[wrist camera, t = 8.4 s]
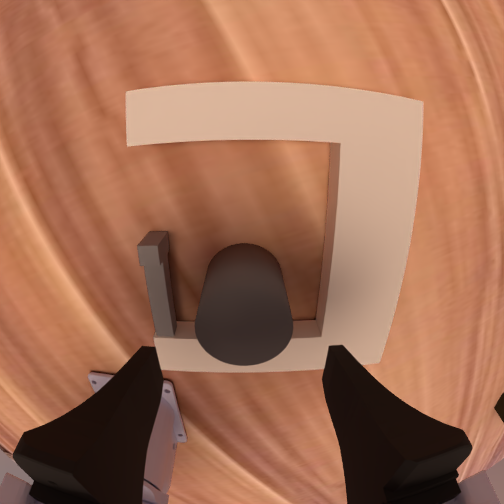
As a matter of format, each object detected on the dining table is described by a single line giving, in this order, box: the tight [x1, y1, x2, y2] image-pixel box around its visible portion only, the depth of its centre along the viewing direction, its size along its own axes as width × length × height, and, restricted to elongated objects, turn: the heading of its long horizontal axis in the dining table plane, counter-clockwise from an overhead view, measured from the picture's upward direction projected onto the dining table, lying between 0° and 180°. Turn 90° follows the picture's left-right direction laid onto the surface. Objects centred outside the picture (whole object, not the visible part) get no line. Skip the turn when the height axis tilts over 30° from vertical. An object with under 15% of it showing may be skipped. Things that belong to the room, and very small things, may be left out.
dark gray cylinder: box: [195, 243, 293, 366], centre depth 17 cm, size 5×5×6 cm
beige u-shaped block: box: [126, 82, 423, 372], centre depth 18 cm, size 18×16×2 cm
